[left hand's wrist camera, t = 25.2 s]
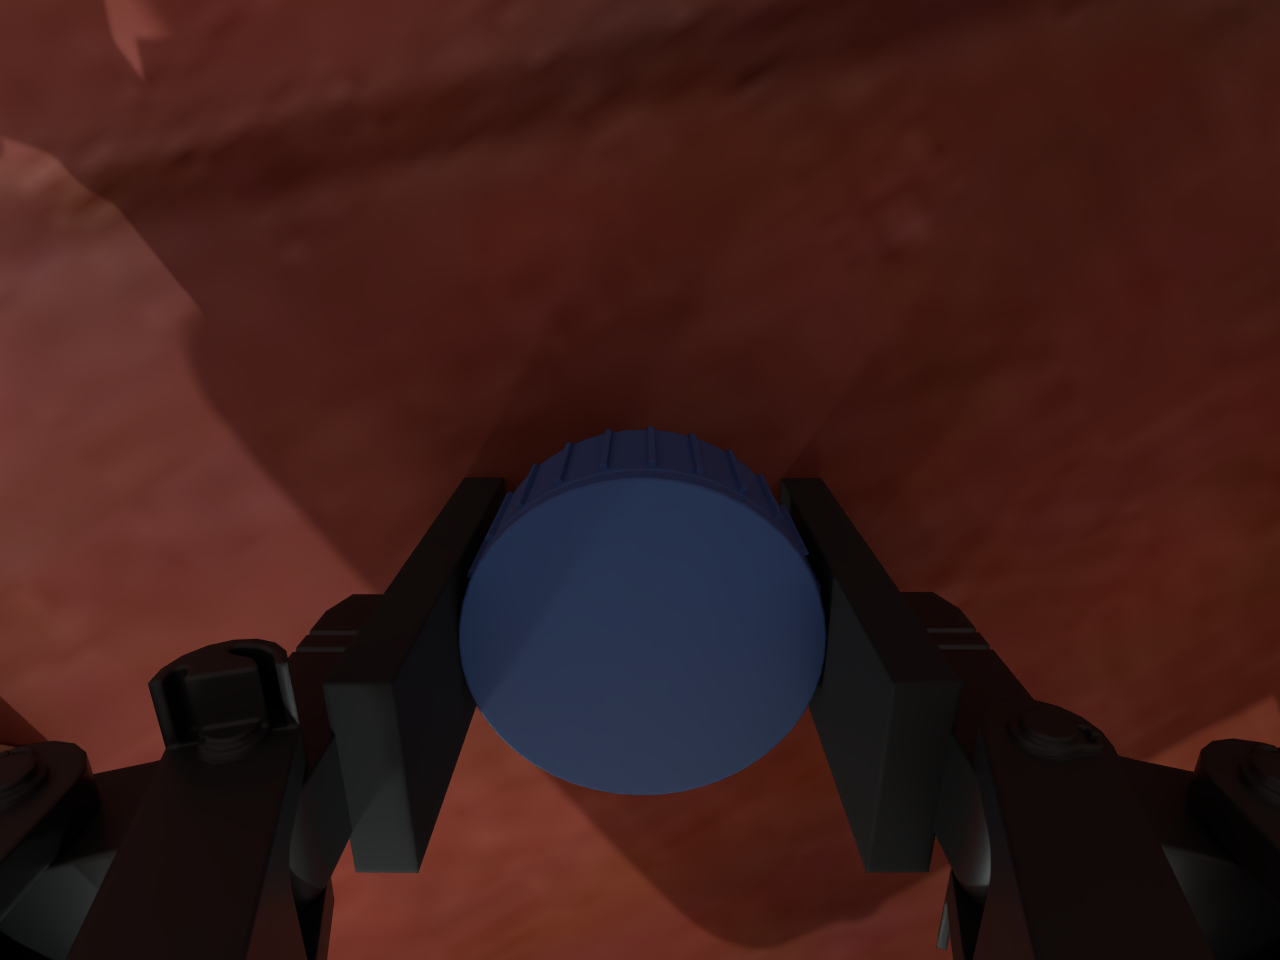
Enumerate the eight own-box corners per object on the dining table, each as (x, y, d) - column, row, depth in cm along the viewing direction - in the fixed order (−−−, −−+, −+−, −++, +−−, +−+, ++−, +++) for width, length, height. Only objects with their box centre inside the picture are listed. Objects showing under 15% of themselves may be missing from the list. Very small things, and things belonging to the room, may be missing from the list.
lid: (586, 360, 11) (572, 395, 9) (862, 527, 12) (912, 596, 10) (433, 617, 13) (389, 702, 11) (688, 748, 14) (697, 849, 12)
